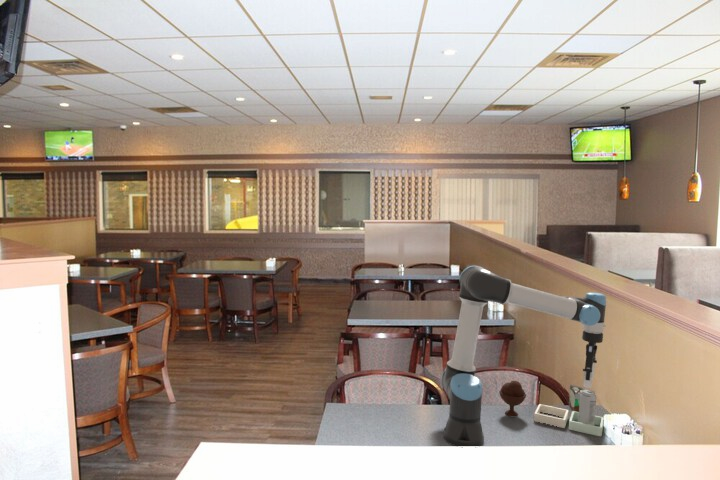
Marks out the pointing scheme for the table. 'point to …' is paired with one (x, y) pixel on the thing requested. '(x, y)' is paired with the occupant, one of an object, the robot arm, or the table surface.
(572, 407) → the food container
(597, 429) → the green bin
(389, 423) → the table surface
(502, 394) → the ice cream bowl
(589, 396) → the energy drink can
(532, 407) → the table surface
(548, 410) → the beige bin
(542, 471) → the table surface
